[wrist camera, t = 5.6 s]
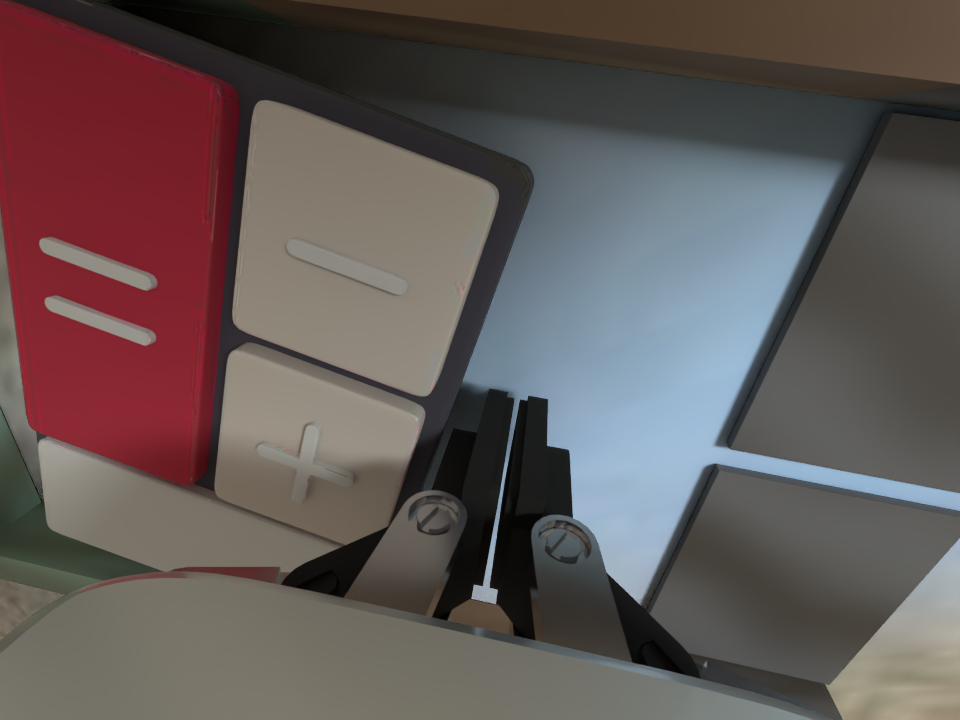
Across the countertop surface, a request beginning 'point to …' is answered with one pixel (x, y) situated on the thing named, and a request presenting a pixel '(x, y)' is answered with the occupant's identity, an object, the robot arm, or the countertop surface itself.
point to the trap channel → (795, 353)
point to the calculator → (231, 289)
